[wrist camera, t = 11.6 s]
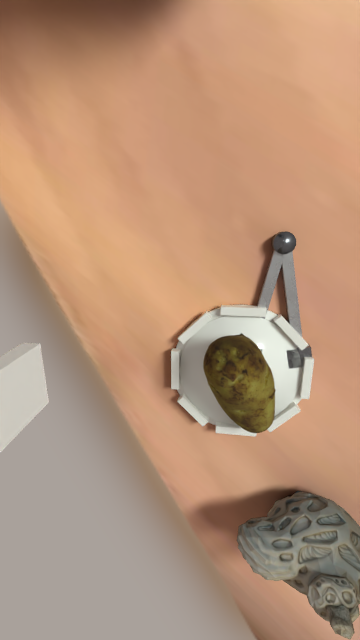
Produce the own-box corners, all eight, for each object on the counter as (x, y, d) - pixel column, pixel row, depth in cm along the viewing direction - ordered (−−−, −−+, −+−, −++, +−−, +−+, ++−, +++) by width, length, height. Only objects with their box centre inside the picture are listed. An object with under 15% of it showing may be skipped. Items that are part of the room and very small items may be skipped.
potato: (204, 415, 42) (200, 456, 34) (206, 321, 38) (201, 343, 31) (269, 419, 41) (279, 462, 33) (276, 323, 37) (290, 346, 30)
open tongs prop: (241, 231, 36) (242, 231, 35) (326, 231, 35) (330, 232, 34) (234, 361, 41) (234, 366, 39) (309, 366, 39) (312, 371, 38)
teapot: (224, 517, 47) (224, 641, 33) (247, 455, 44) (258, 564, 30) (368, 561, 46) (432, 711, 32) (402, 501, 43) (492, 638, 28)
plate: (173, 301, 40) (171, 304, 38) (316, 306, 37) (320, 310, 36) (173, 421, 44) (171, 428, 42) (300, 432, 42) (303, 440, 40)
